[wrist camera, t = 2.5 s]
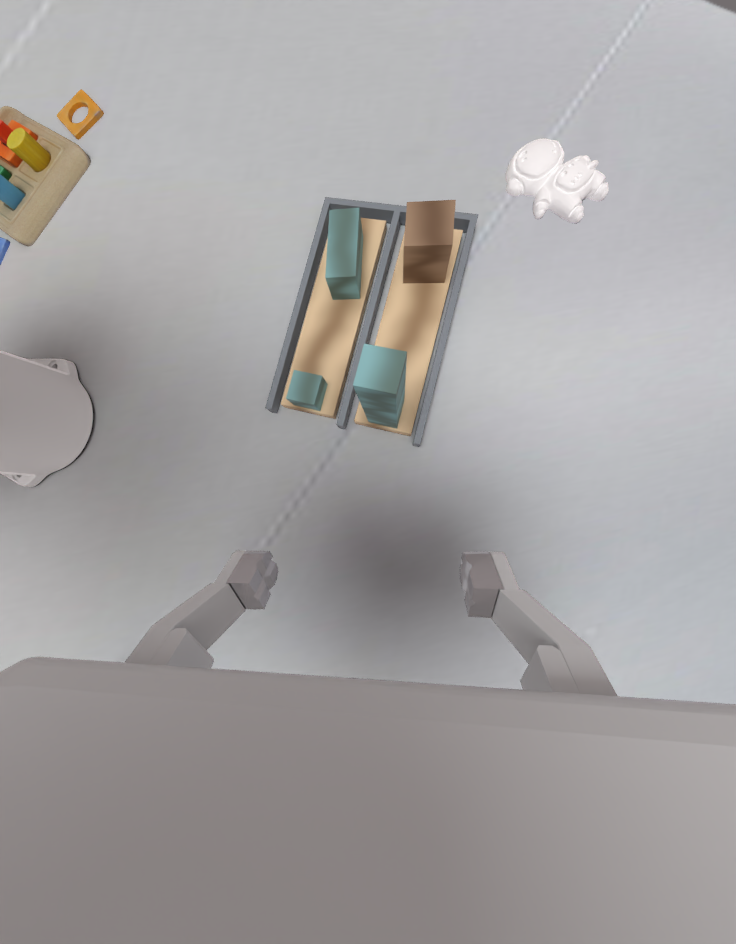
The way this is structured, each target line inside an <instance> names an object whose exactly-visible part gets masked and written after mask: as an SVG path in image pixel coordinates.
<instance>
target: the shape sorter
mask: <svg viewBox="0 0 736 944" xmlns="http://www.w3.org/2000/svg"><path fill="white" fill-rule="evenodd" d="M84 106H85V107H88V115H87V116H86V118H85V119H84V120H83V121H82V122H80V123H72V116H73V114H74V112H75V111H76V110H77V109H78V108H80V107H84ZM103 114H104V113H103V111H102V110H101V109H100V108H99V107H98V106H97V104H96V103H95V102H94V101H93V100H92V99H91V98H90V97H89V96H88V95H87V94H86V93H85V92H84V91H83V90H80V91H78V92H77V94H76V95H75V96H74V97H73V98H72V99H71V100H70V101H69V102H68V103H67V104H66V105H65V106H64V107H63V108H62V110H61V111H60V112H59V113H58V114H57V117H58V118H59V120H60V121H61V122H62V123H63V124H64V125H65V126H66V127H67V128H68V130H69V131H70V132H71V133H72V134H73V135H74V136H75V137H76V138H77V139H80V138H81V137H82V136H83V135H84V134H85V133H86V132H87V131H88V130H89V129H90V128H91V127H92V126H93V125H94V124H95V123H96V122H97V121H98V120H99V119H100V118H101V117H102V116H103ZM89 165H90V159H89V157H88V156H87V154H86V153H85V152H84V151H83V150H82V149H81V148H80V147H79V146H78V145H77V144H76V143H74V142H72V141H70V140H68V139H67V138H65V137H63V136H61V135H59V134H58V133H56V132H54V131H52V130H50V129H49V128H47V127H45V126H43V125H41V124H39V123H37V122H36V121H34V120H32V119H30V118H28V117H26V116H25V115H24V114H22V113H21V112H19V111H18V110H16V109H14V108H12V107H8V106H4V107H2V108H1V109H0V229H1V230H2V231H4V232H5V233H6V234H8V235H9V236H10V237H12V238H13V239H15V240H16V241H18V242H19V243H22V244H24V245H27V246H31V245H33V244H34V242H35V241H36V240H37V238H38V237H39V236H40V234H41V233H42V231H43V230H44V229H45V227H46V226H47V224H48V223H49V222H50V220H51V219H52V217H53V216H54V215H55V213H56V212H57V210H58V209H59V208H60V206H61V205H62V203H63V202H64V201H65V199H66V198H67V196H68V195H69V194H70V192H71V191H72V189H73V188H74V187H75V185H76V184H77V183H78V181H79V180H80V178H81V177H82V176H83V174H84V173H85V171H86V170H87V169H88V167H89ZM9 245H10V241H8V240H6V239H4V238H1V237H0V264H1V262H2V260H3V258H4V256H5V253H6V251H7V249H8V247H9Z"/></svg>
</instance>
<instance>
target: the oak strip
mask: <svg viewBox="0 0 736 944" xmlns="http://www.w3.org/2000/svg"><path fill="white" fill-rule="evenodd" d="M462 233H463V230H457V229H454V232H453V246H452V250H451V255H450V260H449V264H448V269H447V273H446V278H445V283H403V256H404V236H405V233H404V236H403V240H402V244H401V248H400V251H399V255H398V259H397V263H396V266H395V270H394V274H393V278H392V281H391V285H390V289H389V293H388V296H387V300H386V304H385V308H384V311H383V315H382V319H381V323H380V326H379V330H378V334H377V338H376V341H375V345H370V344H364V346H363V349H362V353H361V357H360V361H359V364H358V368H357V372H356V376H355V379H354V383H353V387H354V389H355V391H356V394H357V396H358V398H359V405H358V409H357V412H356V416H355V420H354V422H355V423H356V424H359V425H364V426H368V427H372V428H377V429H381V430H385V431H390V432H394V433H398V434H403V435H407V436H411V433H412V429H413V425H414V421H415V417H416V413H417V409H418V405H419V402H420V398H421V394H422V390H423V386H424V382H425V378H426V374H427V370H428V366H429V362H430V358H431V354H432V351H433V347H434V343H435V339H436V335H437V331H438V327H439V323H440V319H441V315H442V311H443V307H444V304H445V300H446V296H447V292H448V288H449V284H450V280H451V276H452V272H453V268H454V264H455V260H456V256H457V253H458V249H459V245H460V241H461V237H462Z"/></svg>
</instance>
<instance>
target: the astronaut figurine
mask: <svg viewBox="0 0 736 944" xmlns="http://www.w3.org/2000/svg"><path fill="white" fill-rule="evenodd" d="M563 161H564V150H563V148H562V147H561V145H560V143H559V142H558V141H556V140H550V139H537V140H534V141H532V142H530V143H528V144H526V145H525V146H523V147H522V148H520V149H519V150H518V151H517V152H516V154H515V155H514V156H513V158H512V159H511V161H510V163H509V165H508V168H507V171H506V182H507V186H506V192H507V193H508V194H509V195H511V196H513V197H518V196H520V195H521V194H522V195H524V196H534V197H535V199H534V202H533V214H534V216H535V219H541V218H542V217H543V215H544V214H545V212H546V211H547V210H550V211H552V212H553V213H555V214H556V215H557V216H559V217H560V218H562V219H564V220H566V221H568V222H570V223H578V222H579V221H580V220H581V219H582V217H583V215H584V213H583V209H584V207H583V206H582V205H581V204H582V200H583V199H584V198H586V199H591V200H593V201H602V200H603V199H604V198H605V196H606V195H607V193H608V190H609V189H608V183H607V182H606V183H604V182H605V180H606V177H605V175H603V174H602V173H601V172H599V171H598V170H595V168H596V167H597V165H598V163H599V162H598V161H597V160H593V161H591V162H590V158H589V157H588V156H586V155H585V156H577V157H575V158H574V159H572V160H570V161H568V162H566V163H564V164H563Z"/></svg>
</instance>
